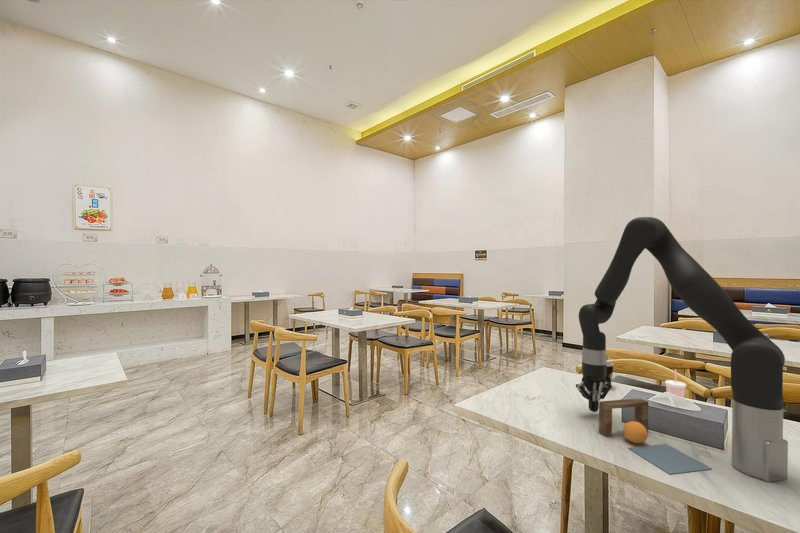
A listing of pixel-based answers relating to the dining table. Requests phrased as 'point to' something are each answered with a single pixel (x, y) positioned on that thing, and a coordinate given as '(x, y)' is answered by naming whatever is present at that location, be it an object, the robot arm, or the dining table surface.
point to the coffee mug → (609, 372)
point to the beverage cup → (675, 386)
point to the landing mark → (669, 459)
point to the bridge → (607, 407)
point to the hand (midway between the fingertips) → (593, 411)
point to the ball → (635, 432)
